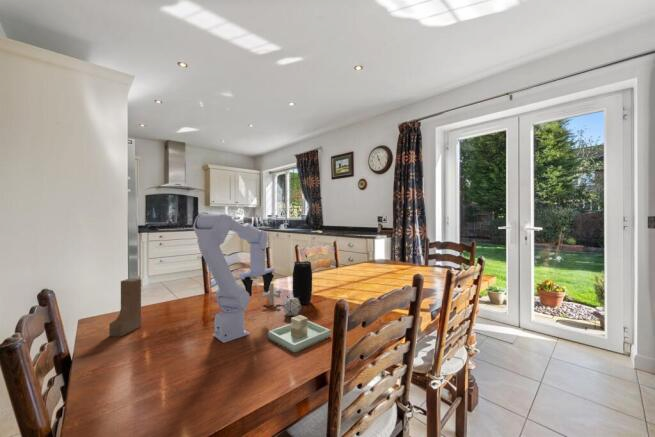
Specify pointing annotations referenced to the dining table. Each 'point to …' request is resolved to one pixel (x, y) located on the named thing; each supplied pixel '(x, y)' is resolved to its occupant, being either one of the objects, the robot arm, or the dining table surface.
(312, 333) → the sorting tray
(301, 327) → the maple block
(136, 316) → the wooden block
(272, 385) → the dining table surface
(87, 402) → the dining table surface
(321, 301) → the dining table surface
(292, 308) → the game die
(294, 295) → the portable speaker
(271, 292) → the pipe connector
